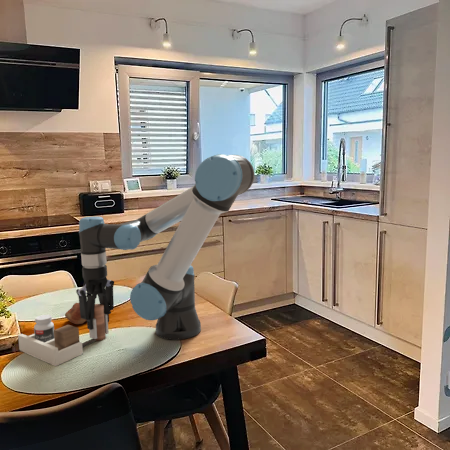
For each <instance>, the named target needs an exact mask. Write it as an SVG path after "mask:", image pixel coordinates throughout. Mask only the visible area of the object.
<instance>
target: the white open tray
mask: <svg viewBox="0 0 450 450" xmlns="http://www.w3.org/2000/svg"><path fill="white" fill-rule="evenodd" d="M17 338H18V347H19V351H20V352H23V353H25V354H27V355H30V356H32V357H34V358H36V359H38V360H41V361H43V362H45V363H48V364H49V365H52V366H54V367H57V366H60V365H62V364H64V363H66V362H68V361H70V360H72V359H74V358H76V357H79V356H81V355H84V354H83V353H84V352H83V351H84V349H83V347H82V343H83V342H81V341H80V342H78V343H76V344H73V345H71V346H69V347H66V348H64V349H62V350H59V351H58V348H57V347H55V339H52V340H49V341H47V342H42V341H39V340H37V339H35V334H34V333H32V334H30V335H26V334H23V333H19V334H18V335H17Z"/></svg>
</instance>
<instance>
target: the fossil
mask: <svg viewBox="0 0 450 450" xmlns="http://www.w3.org/2000/svg"><path fill="white" fill-rule="evenodd" d="M64 315H65V318H66V319H67V320H68V321H69V322H71V323H72V324H74V325H82V324H84V323H86V322H87V320H85V319H82V318H81V315H80V306H79V302H75V303H73V305H72V306H71V308H70V309H68V310H67V311H66V312H65V314H64Z"/></svg>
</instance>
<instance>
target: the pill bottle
mask: <svg viewBox="0 0 450 450" xmlns="http://www.w3.org/2000/svg"><path fill="white" fill-rule="evenodd" d="M52 318H53V317H52V315H51V314H41V315H37V316H36V317H34V323H36V324H34V326H33V331H34V333H33V334H35V339H37V340H39V341H42V342H47V341H49V340H52V339H54V330H55V325H54V322H53V321H52V320H53V319H52Z"/></svg>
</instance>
